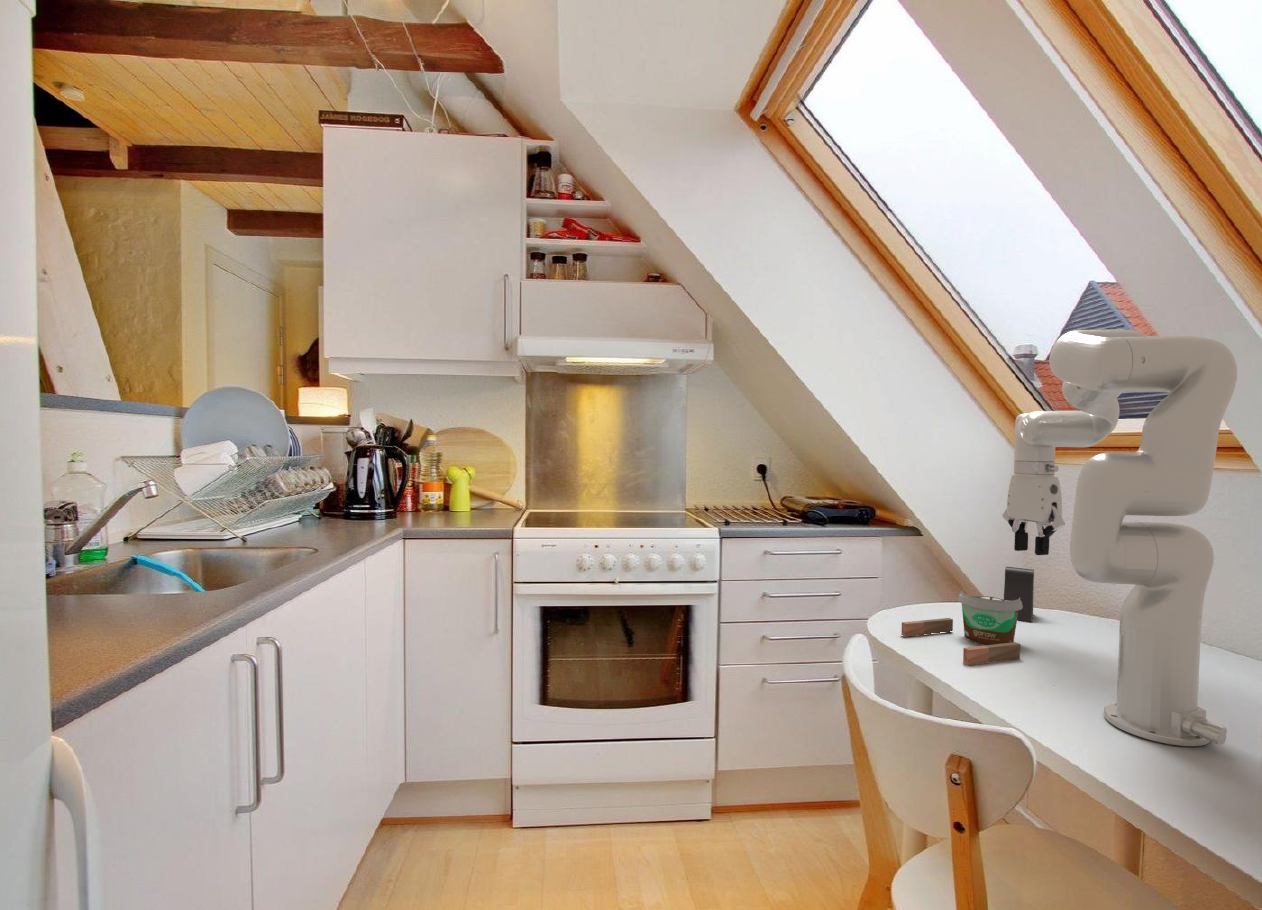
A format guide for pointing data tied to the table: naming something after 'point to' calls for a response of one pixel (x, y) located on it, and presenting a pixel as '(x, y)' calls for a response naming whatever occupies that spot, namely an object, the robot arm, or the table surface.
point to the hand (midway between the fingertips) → (1031, 551)
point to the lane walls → (969, 654)
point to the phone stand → (1020, 590)
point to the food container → (989, 619)
